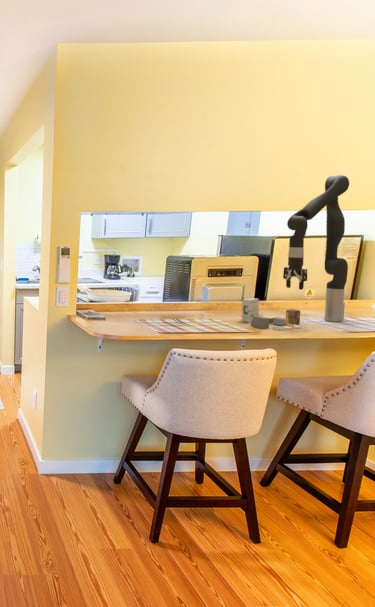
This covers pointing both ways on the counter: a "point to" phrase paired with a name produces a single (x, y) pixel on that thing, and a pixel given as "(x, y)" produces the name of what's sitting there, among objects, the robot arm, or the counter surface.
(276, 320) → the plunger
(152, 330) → the counter surface
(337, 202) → the robot arm
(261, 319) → the gauge bed
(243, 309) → the ink box
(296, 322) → the brown wooden block
